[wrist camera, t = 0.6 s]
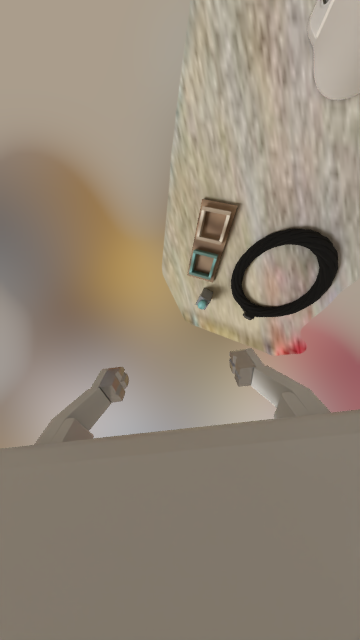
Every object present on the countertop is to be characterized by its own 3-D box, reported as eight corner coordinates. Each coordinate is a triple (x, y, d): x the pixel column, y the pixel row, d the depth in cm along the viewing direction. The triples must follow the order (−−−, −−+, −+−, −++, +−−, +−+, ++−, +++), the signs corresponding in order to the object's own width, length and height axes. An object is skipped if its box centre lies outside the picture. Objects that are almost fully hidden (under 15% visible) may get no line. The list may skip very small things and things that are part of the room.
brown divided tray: (203, 199, 39) (200, 197, 36) (237, 206, 38) (237, 204, 34) (188, 273, 53) (185, 277, 49) (213, 280, 51) (211, 285, 48)
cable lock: (376, 253, 32) (281, 334, 51) (364, 250, 35) (279, 328, 54) (265, 212, 34) (214, 305, 53) (263, 212, 37) (215, 301, 56)
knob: (204, 287, 54) (199, 298, 46) (213, 292, 54) (209, 304, 46) (199, 295, 57) (194, 307, 49) (208, 300, 56) (203, 312, 49)
